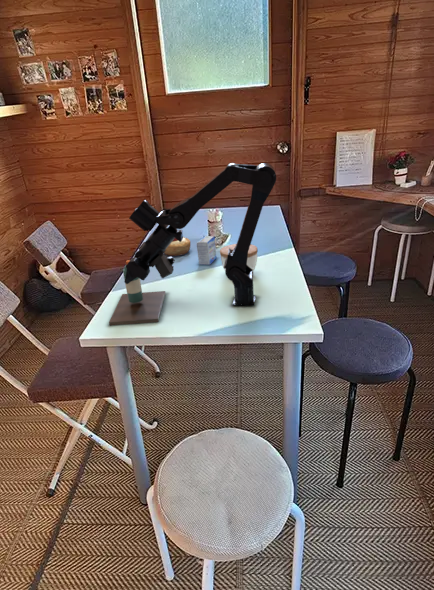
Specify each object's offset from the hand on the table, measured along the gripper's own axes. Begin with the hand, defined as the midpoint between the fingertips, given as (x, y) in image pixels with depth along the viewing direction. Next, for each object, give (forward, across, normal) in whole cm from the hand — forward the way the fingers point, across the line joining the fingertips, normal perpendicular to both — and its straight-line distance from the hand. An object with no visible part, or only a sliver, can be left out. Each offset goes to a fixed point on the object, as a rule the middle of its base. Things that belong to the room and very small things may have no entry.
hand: (127, 280), depth 130 cm
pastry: (+2, +50, -10) cm, 51 cm away
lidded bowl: (-17, +22, -29) cm, 40 cm away
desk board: (+4, -2, -8) cm, 9 cm away
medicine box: (-8, +37, -20) cm, 43 cm away
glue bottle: (+4, 0, -6) cm, 7 cm away
